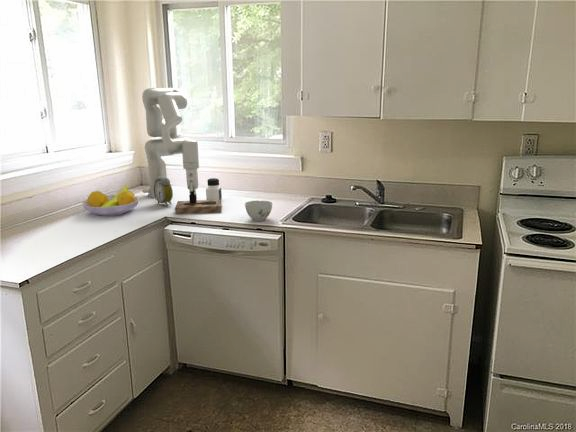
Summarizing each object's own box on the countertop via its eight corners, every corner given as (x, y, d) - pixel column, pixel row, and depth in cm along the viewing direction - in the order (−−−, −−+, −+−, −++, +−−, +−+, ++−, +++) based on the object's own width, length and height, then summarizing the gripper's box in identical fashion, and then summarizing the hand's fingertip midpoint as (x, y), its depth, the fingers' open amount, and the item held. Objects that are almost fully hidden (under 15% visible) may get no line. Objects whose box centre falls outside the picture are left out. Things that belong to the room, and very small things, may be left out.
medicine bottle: (219, 202, 255) (218, 179, 252) (206, 202, 255) (205, 180, 252) (221, 199, 262) (220, 177, 259) (208, 199, 262) (207, 177, 259)
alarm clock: (154, 204, 252) (152, 176, 248) (166, 202, 256) (164, 174, 252) (164, 208, 244) (162, 179, 240) (176, 205, 248) (174, 177, 244)
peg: (188, 211, 237) (186, 187, 234) (189, 208, 242) (187, 185, 238) (198, 210, 237) (197, 187, 234) (199, 208, 242) (197, 185, 239)
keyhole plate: (175, 214, 232) (175, 207, 231) (178, 207, 245) (177, 201, 244) (221, 212, 234) (221, 206, 234) (221, 205, 248) (221, 199, 247)
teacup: (276, 221, 218) (276, 204, 215) (250, 224, 213) (249, 207, 211) (265, 213, 231) (265, 197, 229) (240, 216, 227) (240, 200, 224)
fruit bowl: (107, 222, 219) (104, 198, 216) (71, 214, 233) (68, 191, 230) (154, 209, 242) (152, 187, 239) (119, 202, 256) (117, 181, 253)
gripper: (198, 167, 226) (200, 205, 231) (199, 162, 242) (201, 198, 247) (181, 168, 225) (184, 206, 230) (184, 162, 241) (186, 198, 246)
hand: (193, 201), depth 238 cm, fingers closed on peg, 3 cm apart
